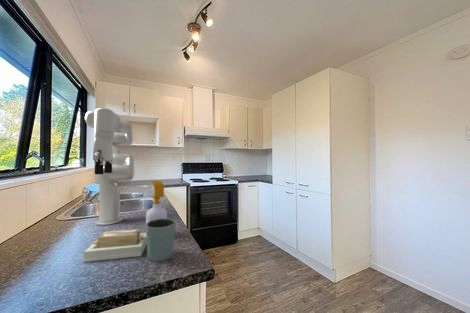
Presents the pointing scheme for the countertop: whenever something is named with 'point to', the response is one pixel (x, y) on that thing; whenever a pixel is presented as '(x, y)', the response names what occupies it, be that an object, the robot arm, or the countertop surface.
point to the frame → (119, 238)
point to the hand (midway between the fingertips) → (103, 173)
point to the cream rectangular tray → (115, 251)
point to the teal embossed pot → (160, 239)
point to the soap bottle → (157, 203)
